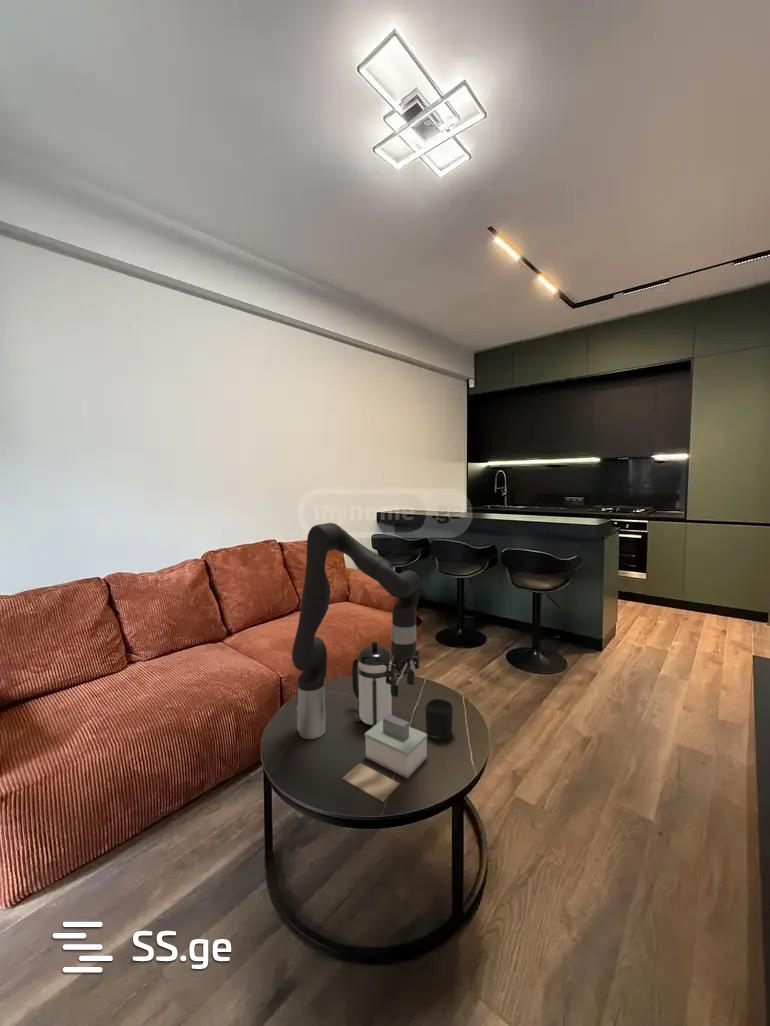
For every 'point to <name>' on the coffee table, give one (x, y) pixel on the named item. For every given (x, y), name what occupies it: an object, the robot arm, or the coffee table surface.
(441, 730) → the pen holder
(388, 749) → the storage box
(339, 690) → the coffee table surface
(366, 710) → the coffee press
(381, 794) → the cork pad
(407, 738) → the lid
